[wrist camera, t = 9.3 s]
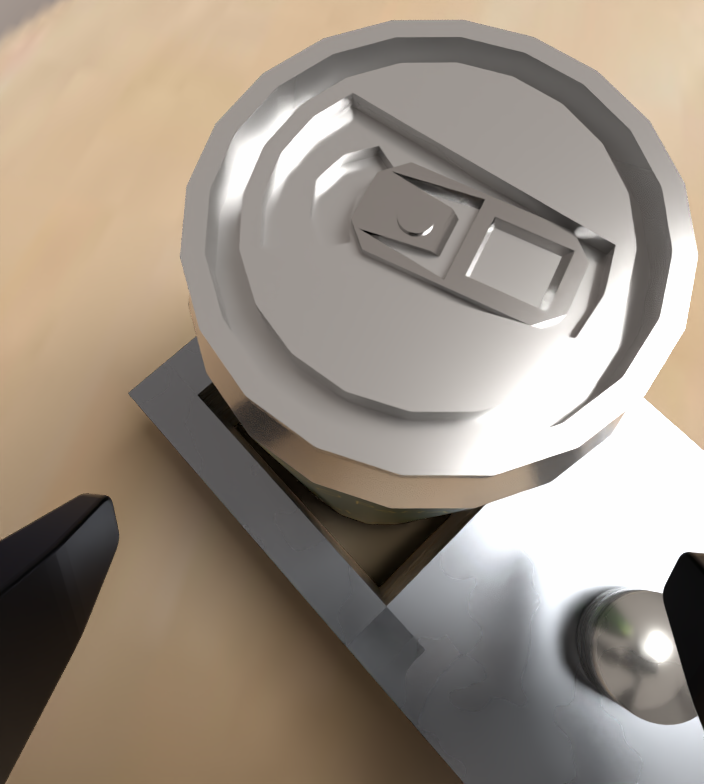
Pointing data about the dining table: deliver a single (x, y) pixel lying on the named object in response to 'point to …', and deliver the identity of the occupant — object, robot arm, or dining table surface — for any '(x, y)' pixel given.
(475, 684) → the jig
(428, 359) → the beer can
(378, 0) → the dining table surface
